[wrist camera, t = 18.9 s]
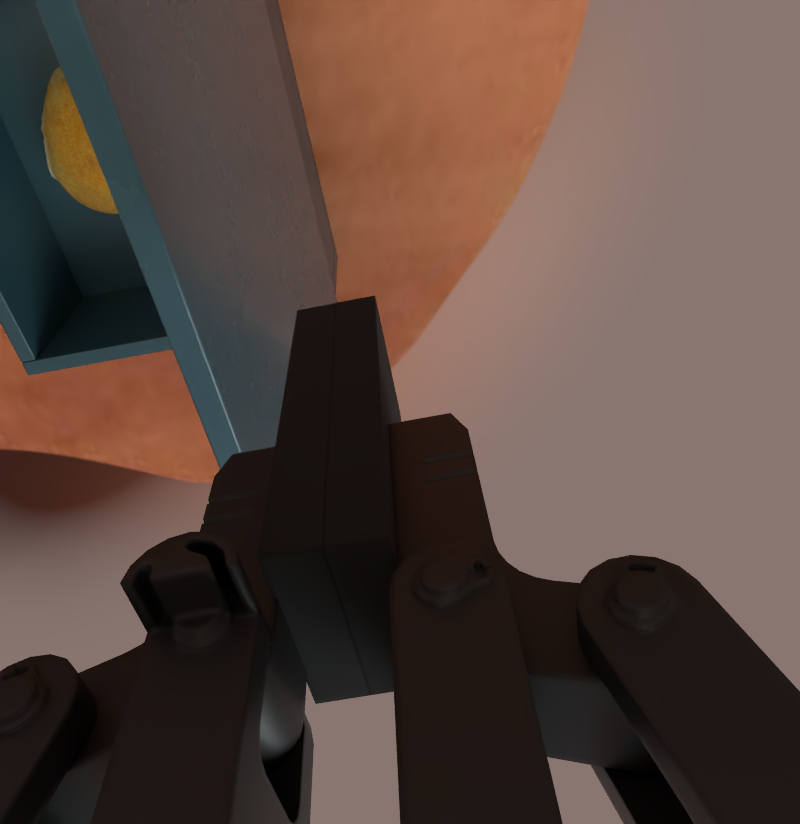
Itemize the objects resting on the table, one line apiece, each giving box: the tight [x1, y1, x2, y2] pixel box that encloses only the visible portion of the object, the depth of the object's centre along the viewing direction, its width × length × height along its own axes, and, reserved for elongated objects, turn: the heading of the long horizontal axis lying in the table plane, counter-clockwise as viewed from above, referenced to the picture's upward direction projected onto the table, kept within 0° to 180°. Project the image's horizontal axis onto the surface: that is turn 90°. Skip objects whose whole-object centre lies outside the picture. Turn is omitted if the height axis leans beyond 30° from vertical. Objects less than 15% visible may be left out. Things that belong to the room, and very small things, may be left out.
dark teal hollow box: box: [0, 0, 337, 375], centre depth 36 cm, size 17×19×9 cm
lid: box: [34, 0, 337, 469], centre depth 25 cm, size 18×19×1 cm
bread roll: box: [41, 66, 119, 214], centre depth 38 cm, size 8×9×4 cm
